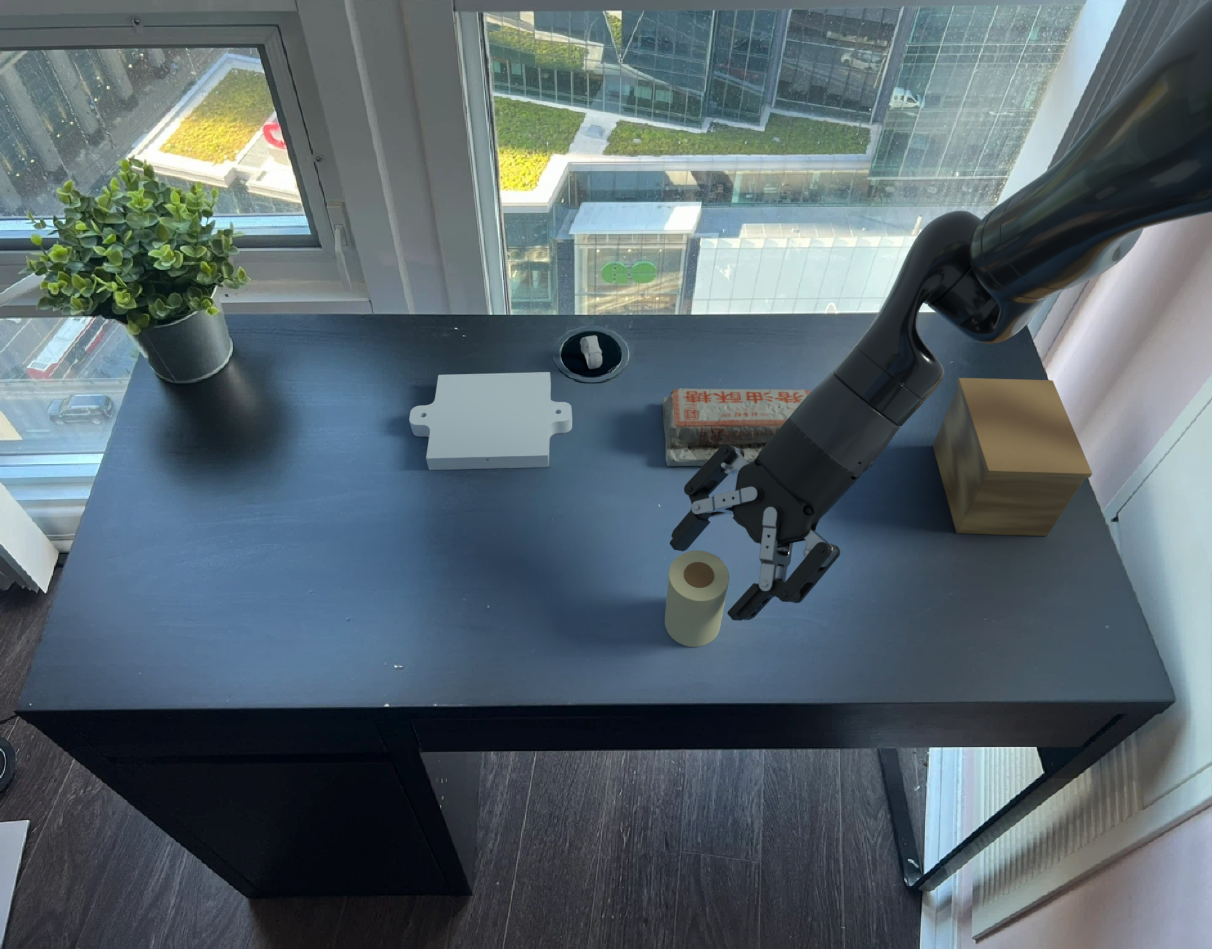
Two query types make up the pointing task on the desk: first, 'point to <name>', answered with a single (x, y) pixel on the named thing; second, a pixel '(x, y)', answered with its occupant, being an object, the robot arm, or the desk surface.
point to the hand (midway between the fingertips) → (704, 581)
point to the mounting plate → (490, 421)
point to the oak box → (1008, 457)
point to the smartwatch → (591, 351)
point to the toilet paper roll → (696, 598)
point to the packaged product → (723, 421)
